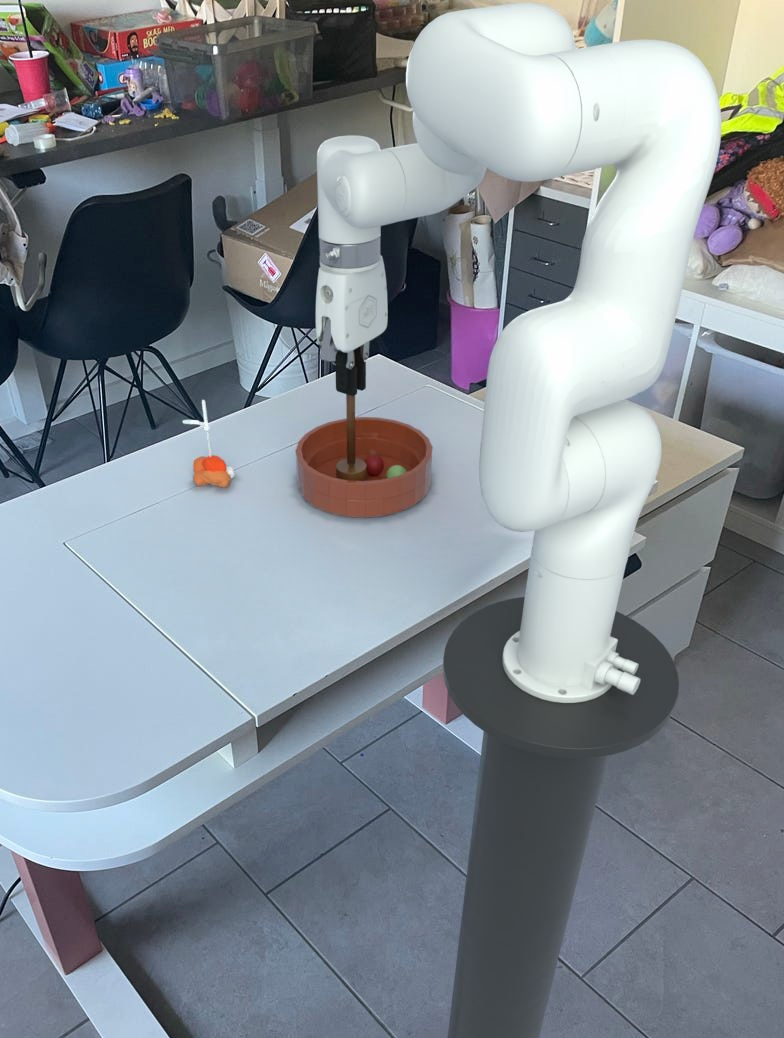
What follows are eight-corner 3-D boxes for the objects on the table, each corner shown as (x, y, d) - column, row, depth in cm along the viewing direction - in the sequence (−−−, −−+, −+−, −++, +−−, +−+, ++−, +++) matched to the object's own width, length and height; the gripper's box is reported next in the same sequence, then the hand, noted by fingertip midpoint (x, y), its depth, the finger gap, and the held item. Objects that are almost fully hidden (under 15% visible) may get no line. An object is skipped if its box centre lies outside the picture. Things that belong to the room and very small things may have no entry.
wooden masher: (372, 477, 136) (373, 348, 124) (354, 490, 134) (353, 360, 121) (348, 468, 139) (346, 341, 126) (330, 480, 136) (326, 352, 123)
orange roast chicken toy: (209, 460, 147) (201, 388, 139) (244, 484, 141) (237, 410, 133) (177, 473, 144) (166, 401, 136) (211, 498, 138) (202, 423, 130)
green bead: (410, 483, 138) (411, 465, 136) (399, 492, 136) (399, 473, 134) (394, 477, 139) (394, 459, 137) (382, 485, 138) (382, 467, 136)
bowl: (455, 476, 140) (458, 440, 136) (379, 536, 129) (379, 498, 125) (350, 440, 150) (350, 405, 146) (270, 493, 139) (268, 456, 135)
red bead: (387, 472, 140) (388, 455, 139) (376, 481, 139) (376, 463, 137) (371, 467, 142) (371, 449, 140) (359, 475, 140) (359, 457, 138)
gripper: (335, 275, 109) (338, 419, 121) (410, 238, 118) (406, 376, 130) (286, 263, 113) (293, 404, 125) (362, 228, 122) (362, 363, 134)
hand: (350, 389), depth 127 cm, fingers closed on wooden masher, 1 cm apart
